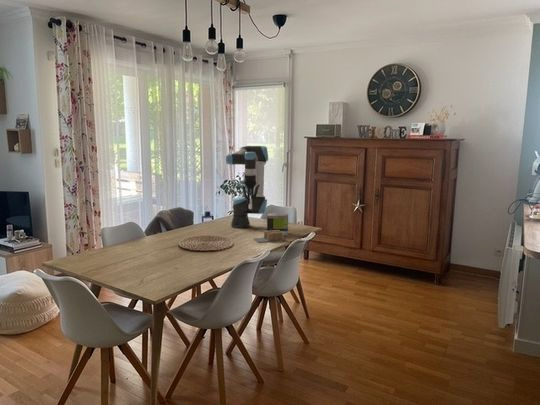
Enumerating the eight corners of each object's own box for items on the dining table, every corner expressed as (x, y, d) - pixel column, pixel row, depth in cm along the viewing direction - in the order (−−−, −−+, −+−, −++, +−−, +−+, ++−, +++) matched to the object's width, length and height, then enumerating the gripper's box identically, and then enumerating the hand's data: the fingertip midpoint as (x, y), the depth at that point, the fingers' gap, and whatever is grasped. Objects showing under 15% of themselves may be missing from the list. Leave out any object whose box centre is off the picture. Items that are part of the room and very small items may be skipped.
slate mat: (253, 239, 277) (253, 238, 277) (279, 237, 284) (279, 236, 284) (258, 242, 267) (258, 242, 267) (285, 240, 275) (285, 239, 275)
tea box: (288, 232, 297) (288, 213, 295) (287, 236, 287) (287, 216, 285) (268, 232, 299) (268, 212, 296) (266, 235, 289) (266, 215, 286)
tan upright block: (263, 230, 278) (278, 229, 282) (263, 237, 279) (278, 236, 283) (268, 233, 270) (283, 232, 274) (268, 240, 271) (283, 239, 275)
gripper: (243, 175, 264) (243, 210, 269) (261, 175, 269) (261, 209, 274) (239, 174, 271) (239, 208, 276) (257, 173, 276) (257, 206, 280)
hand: (250, 208), depth 275 cm, fingers closed
